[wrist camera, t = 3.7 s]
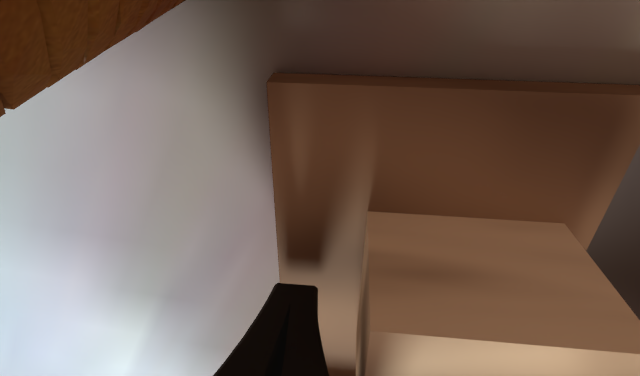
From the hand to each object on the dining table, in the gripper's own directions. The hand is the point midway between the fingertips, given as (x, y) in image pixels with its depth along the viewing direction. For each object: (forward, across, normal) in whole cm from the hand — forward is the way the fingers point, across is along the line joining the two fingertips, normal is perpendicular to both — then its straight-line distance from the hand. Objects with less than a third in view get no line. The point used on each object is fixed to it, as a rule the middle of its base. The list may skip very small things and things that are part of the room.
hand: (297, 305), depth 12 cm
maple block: (+1, -5, 0) cm, 5 cm away
